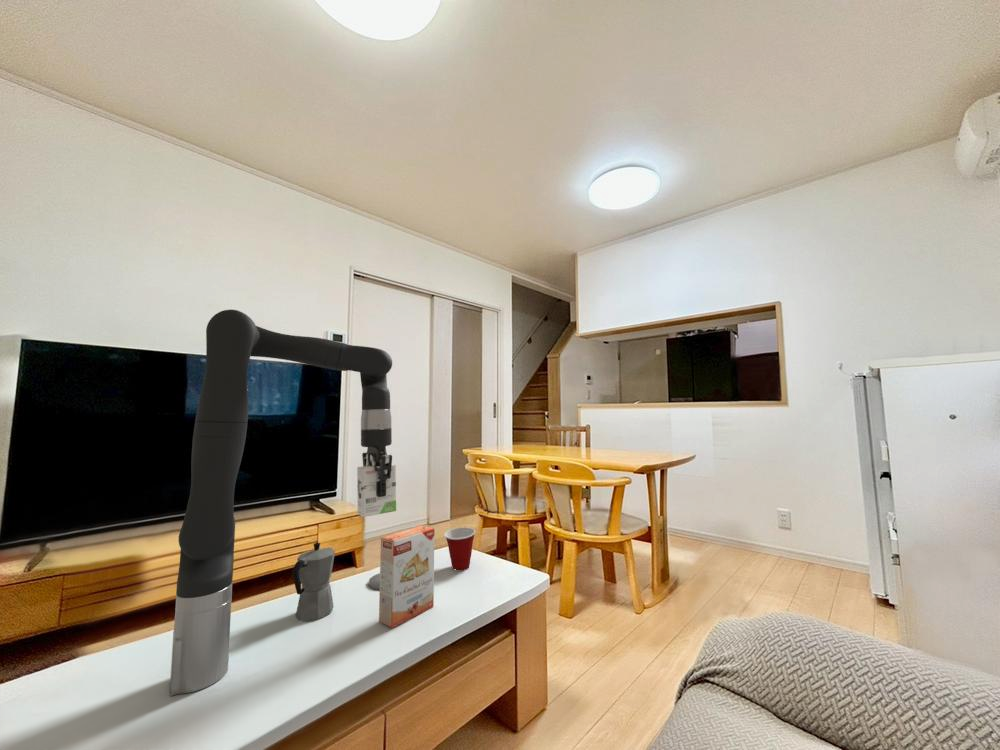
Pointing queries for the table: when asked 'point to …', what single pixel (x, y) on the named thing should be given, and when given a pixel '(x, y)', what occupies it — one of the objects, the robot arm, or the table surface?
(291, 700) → the table surface
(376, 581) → the glossy grey dome
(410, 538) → the cracker box
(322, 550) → the coffeepot
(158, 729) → the table surface
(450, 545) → the plastic cup
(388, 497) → the ink box
